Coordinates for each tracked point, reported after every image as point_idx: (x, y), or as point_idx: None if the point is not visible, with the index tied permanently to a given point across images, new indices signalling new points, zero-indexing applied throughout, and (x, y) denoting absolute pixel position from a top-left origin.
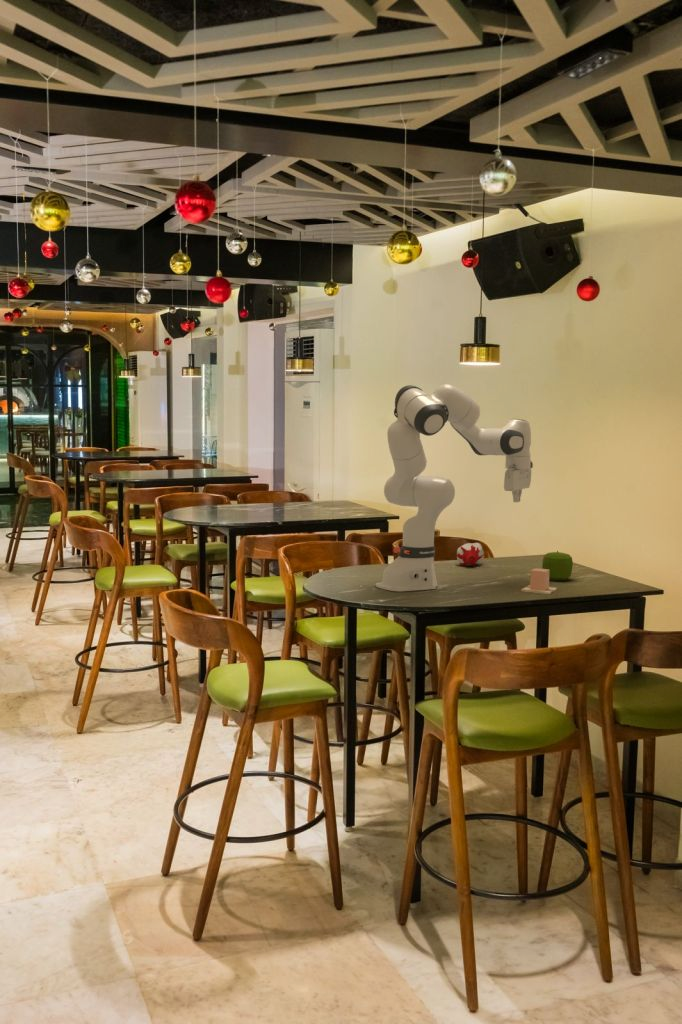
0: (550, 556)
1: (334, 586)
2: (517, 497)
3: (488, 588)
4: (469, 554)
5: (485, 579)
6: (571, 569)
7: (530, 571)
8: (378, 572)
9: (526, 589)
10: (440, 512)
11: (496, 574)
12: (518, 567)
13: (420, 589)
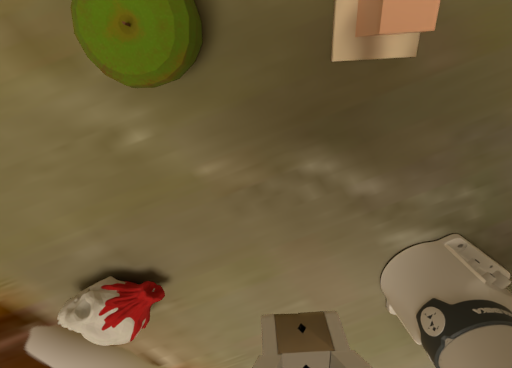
0: (181, 40)
1: None
2: (354, 353)
3: (401, 147)
4: (146, 305)
5: (282, 198)
6: None
7: (432, 30)
8: None
9: (408, 42)
10: None
11: (199, 203)
12: (58, 199)
13: (480, 250)
